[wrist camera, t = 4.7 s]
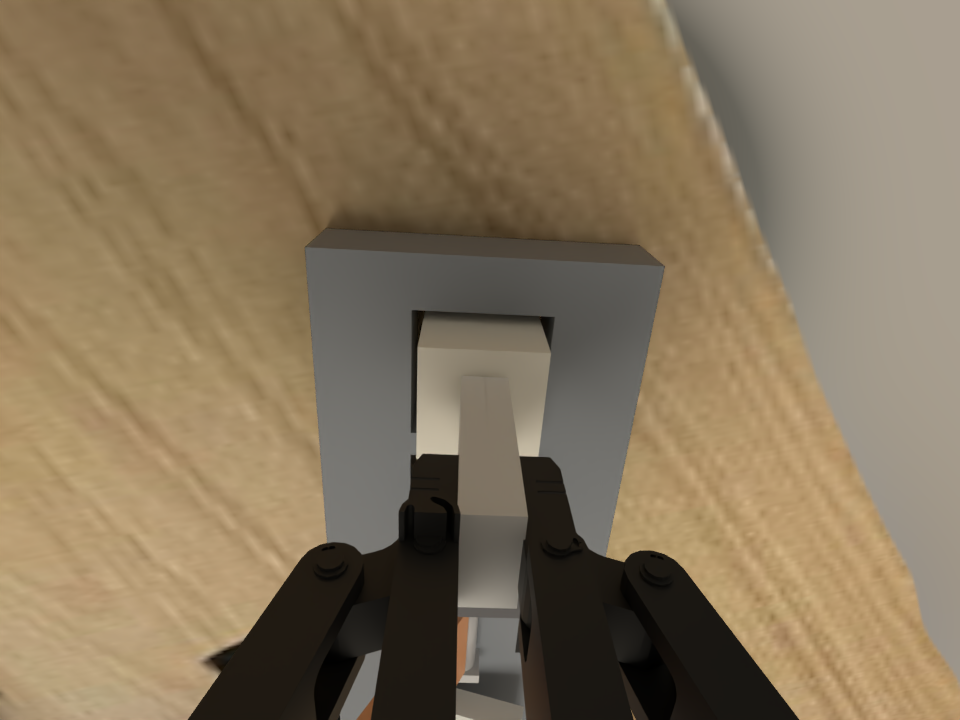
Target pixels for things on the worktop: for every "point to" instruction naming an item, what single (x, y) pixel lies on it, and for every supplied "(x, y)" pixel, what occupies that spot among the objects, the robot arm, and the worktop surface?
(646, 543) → the worktop surface
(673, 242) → the worktop surface
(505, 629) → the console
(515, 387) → the ivory button
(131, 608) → the worktop surface
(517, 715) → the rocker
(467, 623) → the paddle lever
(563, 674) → the robot arm
